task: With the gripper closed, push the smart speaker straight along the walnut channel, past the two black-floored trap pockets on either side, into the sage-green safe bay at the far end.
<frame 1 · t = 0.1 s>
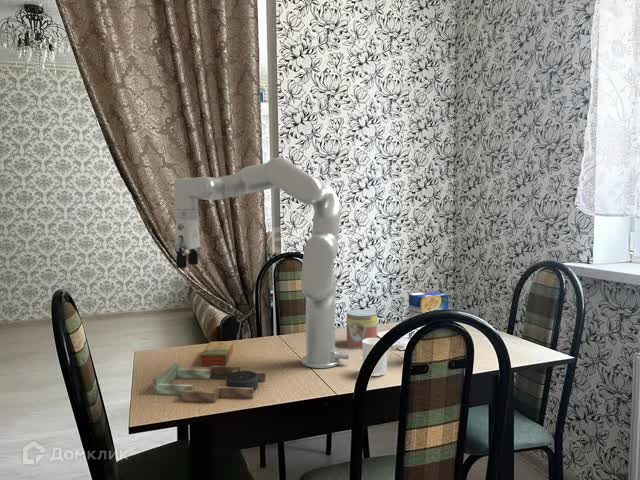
hand: (187, 266, 168), 31 cm above the table, tool pointing down, fingers open, 9 cm apart
canned food: (361, 345, 186), on the table
white cup: (375, 373, 153), on the table
carton: (217, 360, 169), on the table
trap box: (216, 387, 142), on the table
beverage box: (427, 360, 167), on the table
smart speaker: (242, 389, 141), on the table
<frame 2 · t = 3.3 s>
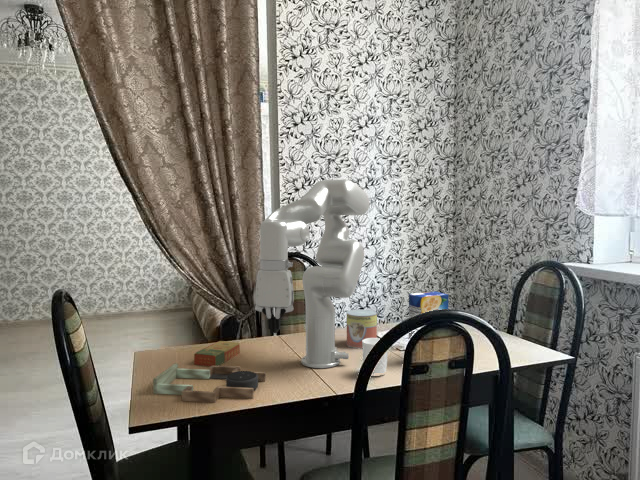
hand: (274, 332, 138), 16 cm above the table, tool pointing down, fingers closed
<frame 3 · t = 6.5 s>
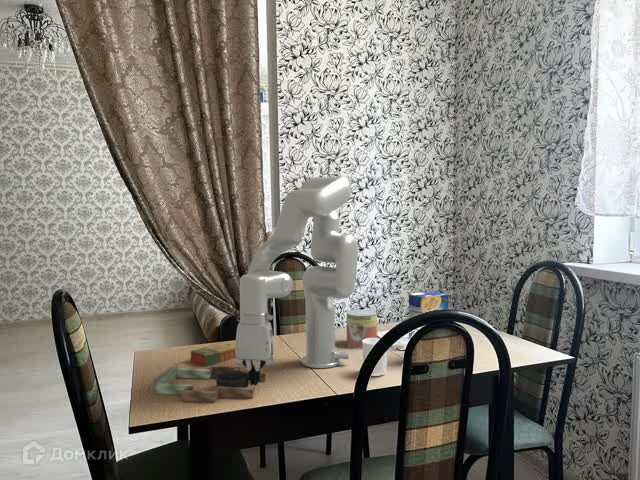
hand: (254, 383, 140), 2 cm above the table, tool pointing down, fingers closed
smart speaker: (232, 389, 141), on the table
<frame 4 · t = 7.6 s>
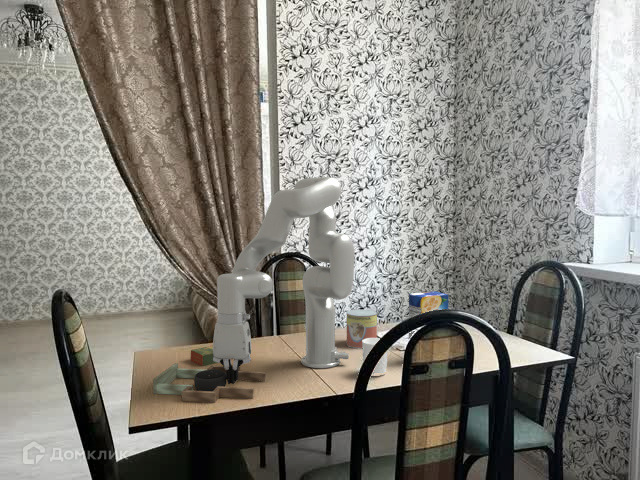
hand: (232, 382, 141), 2 cm above the table, tool pointing down, fingers closed
smart speaker: (210, 388, 142), on the table, touching gripper
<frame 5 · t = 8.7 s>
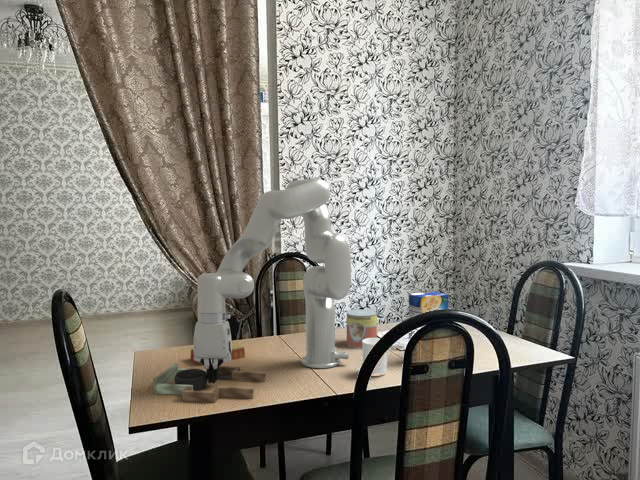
hand: (212, 381, 142), 2 cm above the table, tool pointing down, fingers closed
smart speaker: (191, 387, 143), on the table, touching gripper
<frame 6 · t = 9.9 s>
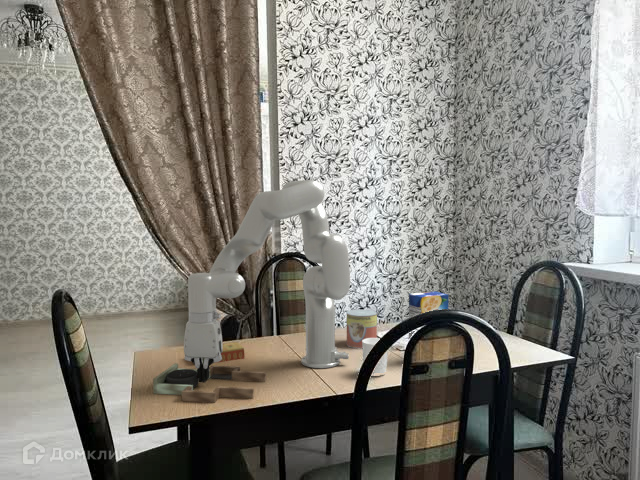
hand: (203, 380, 142), 2 cm above the table, tool pointing down, fingers closed
smart speaker: (182, 387, 143), on the table
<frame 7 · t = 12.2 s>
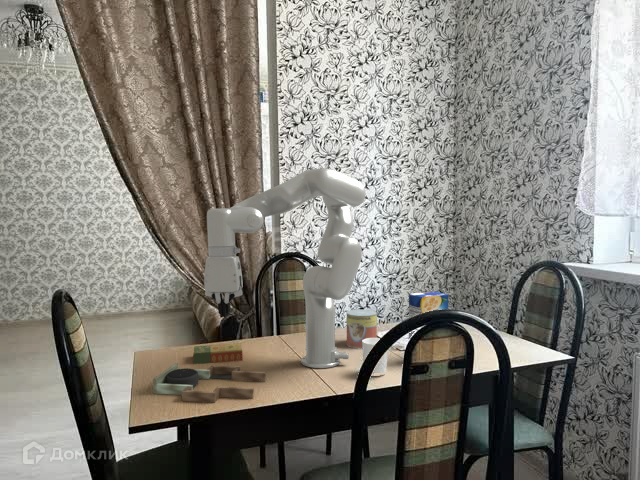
hand: (224, 316, 143), 20 cm above the table, tool pointing down, fingers closed
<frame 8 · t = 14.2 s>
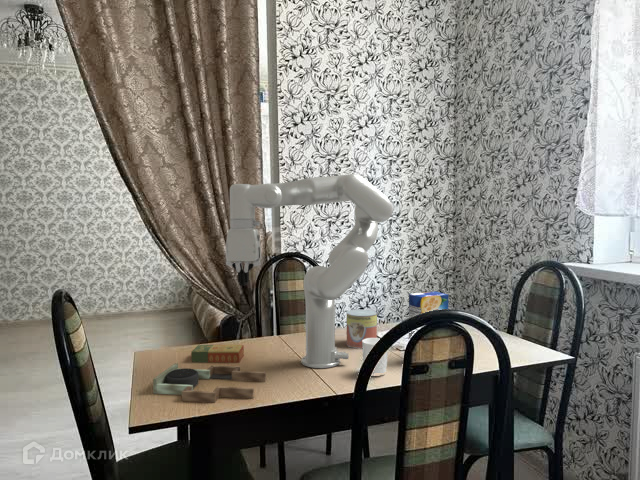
hand: (243, 284, 153), 27 cm above the table, tool pointing down, fingers closed
at the end: smart speaker 0.2 cm from the target spot, on the table; smart speaker tilted 0° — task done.
